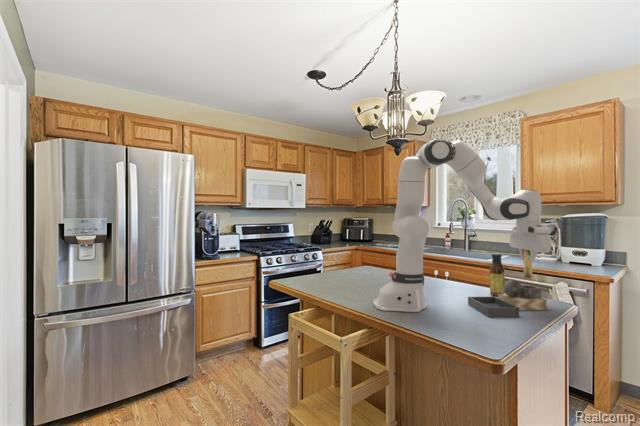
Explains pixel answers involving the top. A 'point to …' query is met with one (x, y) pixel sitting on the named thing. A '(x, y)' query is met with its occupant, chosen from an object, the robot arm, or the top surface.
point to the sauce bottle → (496, 275)
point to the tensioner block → (523, 296)
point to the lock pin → (527, 264)
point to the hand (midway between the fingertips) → (528, 260)
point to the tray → (493, 307)
